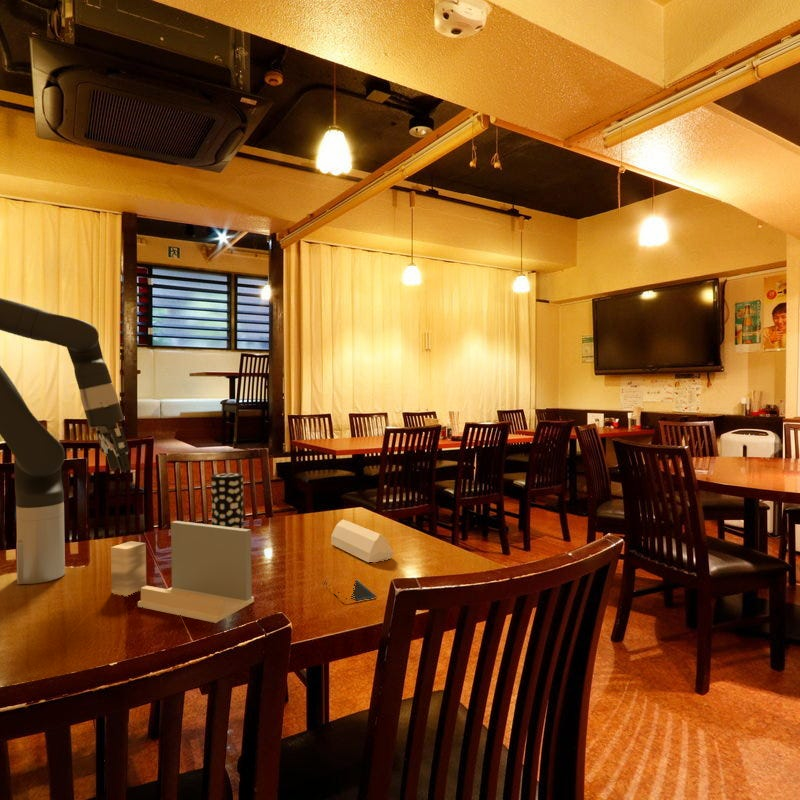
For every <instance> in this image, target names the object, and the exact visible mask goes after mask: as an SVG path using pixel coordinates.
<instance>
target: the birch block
mask: <svg viewBox="0 0 800 800" xmlns="http://www.w3.org/2000/svg"><path fill="white" fill-rule="evenodd" d="M146 544H147V543H146V542H141V541H139V542H138V541H131V540H130V541H127V542H123V543H121V544H117V545H114V546H111V547H110V567H111V569H110V570H111V573H110V574H111V575H110V576H111V594H112V593H113V594H112V595H116V594H117V595H116V596H121V595H123V596H122V597H126V596H127V597H129V596H128V595H130V596H131V594H132V595H134V594H133V593H135V592H137V593H139V592H141V588H142V587H144V586H147V554H146V553H147V550H146V549H147V547H146V546H147V545H146ZM138 591H139V592H138ZM135 594H136V593H135Z"/></svg>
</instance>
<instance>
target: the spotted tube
mask: <svg viewBox="0 0 800 800" xmlns="http://www.w3.org/2000/svg"><path fill="white" fill-rule="evenodd" d="M210 478H211V479H210V480H211V484H210V485H211V488H210V489H211V490H210V491H211V525H217V526H225V527H233V528H242V529H244V482H243V481H244V477H243V473H240V472H223V473H217V474H212V475H211V477H210Z"/></svg>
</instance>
